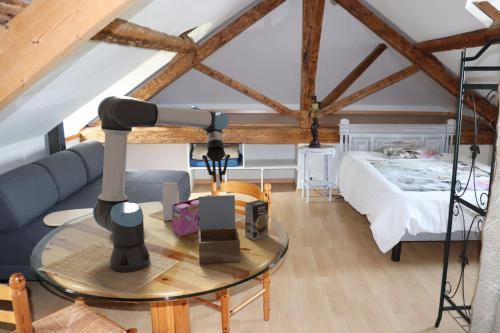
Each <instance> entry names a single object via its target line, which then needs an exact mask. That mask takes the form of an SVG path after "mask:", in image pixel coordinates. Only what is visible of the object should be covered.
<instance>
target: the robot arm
mask: <svg viewBox="0 0 500 333" xmlns="http://www.w3.org/2000/svg"><path fill="white" fill-rule="evenodd" d="M97 115H98V118H99V119H100V121H101V127H100V128H101V129H100V130H101V131H102V132H103V133H104V149H103V152H104V153H103V169H102V173H103V174H102V187H101V188H102V189H101V191H102V192H101V194H99V195H98V197H97V201H96V203H95V204H94V206H93V209H92V217H93V219H94V221H95V222H96V223H97V224H98V225H99V226H100V227H101V228H102V229H105V230H107V231H108V232H110V233H112V242H113V243H112V244H113V245H112V246H113V247H112V252H111V255H110V259H109V267H110V269H112V270H113V271H115V272H119V273H120V272H121V273H130V272H131V273H132V272H137V271H139V270H142V269H145V268H147V267H148V266H149V265H150V263H151V256H150V253H149V250H148V248H147V246H146V244H145V228H144V227H145V226H144V224H145V223H144V214H143V209H142V207H141V206H140V205H138V204H137V203H135V202H128V201H129V197H128V196H127V194H125V186H126V169H127V167H126V166H127V151H128V136H129V135H130V134H131V133H132V132H133V128H154V127H155V126H165V127H166V126H167V127H168V126H170V127H184V128H196V129H197V128H198V129H201V130H203V131H204V132H206V145H207V146H206V149H207V152H206V154H203V155H202V156H201V157H202V158H201V159H202V161H203V162H204V164H205V167H206V170H207V173H208V175H209V176H212V178H213V179H212V180H213V183H215V184H216V186H215V188H216V190H217V191H219V190H221V183H222V182H223V176H225V175H226V174H227V173H226V172H227V168H228V163H229V161H230V159H231V155H230V154H229V153H228V154H226V151H225V148H224V147H225V146H224V137H223V136H224V134H223V130H225V129H227V128H228V126H229V124H230V119H229V118H230V117H229V116H228V114H227V113H225V112H222V111H213V110H202V109H200V107H197V106H194V105H193V106H191V107H188V108H184V107H175V106H166V105H158V104H157V103H156V102H153V101H145V100H141V99H139V98H134V97H130V96H119V95H110V96H106V97H105V98H103V99H102V100H101V101H100V103H99V104H98V107H97ZM223 159H224V164H223V169H222V160H223ZM209 160H210V162H211V163H212V167H211V165H210V162H209ZM216 162H217V166H216ZM216 167H217V168H218V173H217V170H216V169H217V168H216ZM211 168H212V169H211ZM147 265H148V266H147Z"/></svg>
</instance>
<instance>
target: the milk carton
mask: <svg viewBox="0 0 500 333" xmlns="http://www.w3.org/2000/svg"><path fill="white" fill-rule="evenodd" d="M162 184H163V185H162V191H161V195H162V199H161V200H162V214H163V215H162V216H163V218H162V220H163V221H167V222H168V221H169V220H172V205H173V204H177V203H180V189H179V185H178V183H177V182H162Z"/></svg>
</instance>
